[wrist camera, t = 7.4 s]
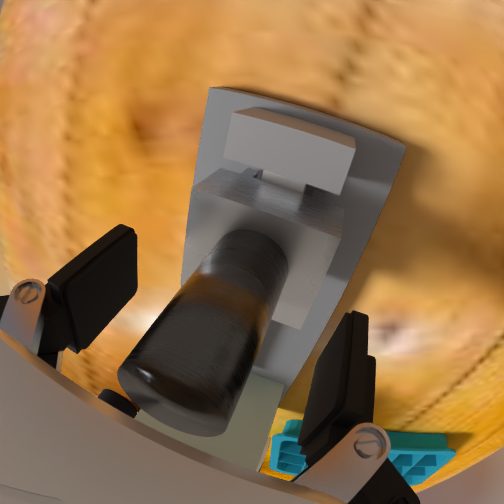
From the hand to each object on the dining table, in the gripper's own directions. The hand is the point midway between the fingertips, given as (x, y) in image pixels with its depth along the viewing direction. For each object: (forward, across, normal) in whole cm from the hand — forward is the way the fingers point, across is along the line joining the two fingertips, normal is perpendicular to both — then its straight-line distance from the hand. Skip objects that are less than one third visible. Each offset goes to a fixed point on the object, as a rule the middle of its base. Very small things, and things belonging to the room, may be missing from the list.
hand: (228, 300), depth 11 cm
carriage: (+7, 0, 0) cm, 7 cm away
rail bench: (+9, 0, +7) cm, 11 cm away
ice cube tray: (+9, -17, +24) cm, 31 cm away
